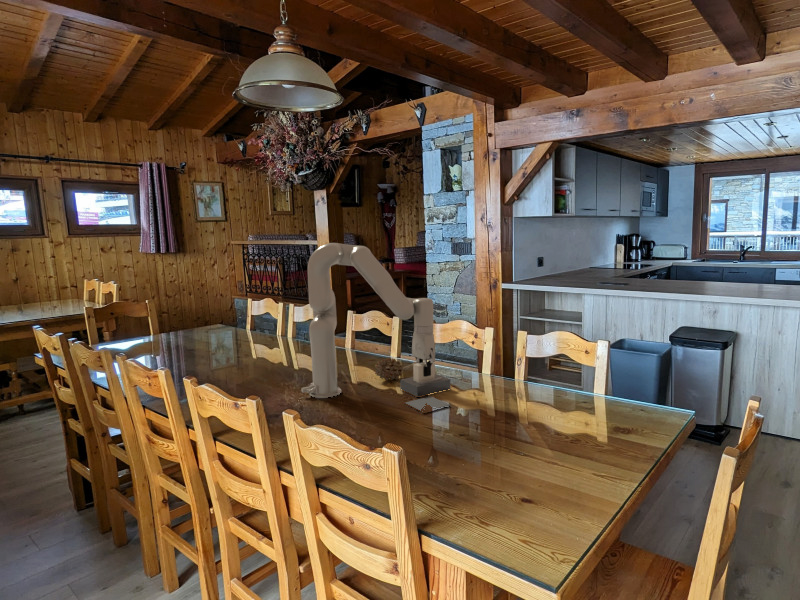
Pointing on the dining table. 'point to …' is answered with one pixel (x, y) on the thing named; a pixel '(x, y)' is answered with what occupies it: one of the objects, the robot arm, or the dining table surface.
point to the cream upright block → (422, 372)
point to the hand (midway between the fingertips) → (424, 374)
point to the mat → (429, 400)
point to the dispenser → (425, 385)
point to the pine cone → (390, 368)
